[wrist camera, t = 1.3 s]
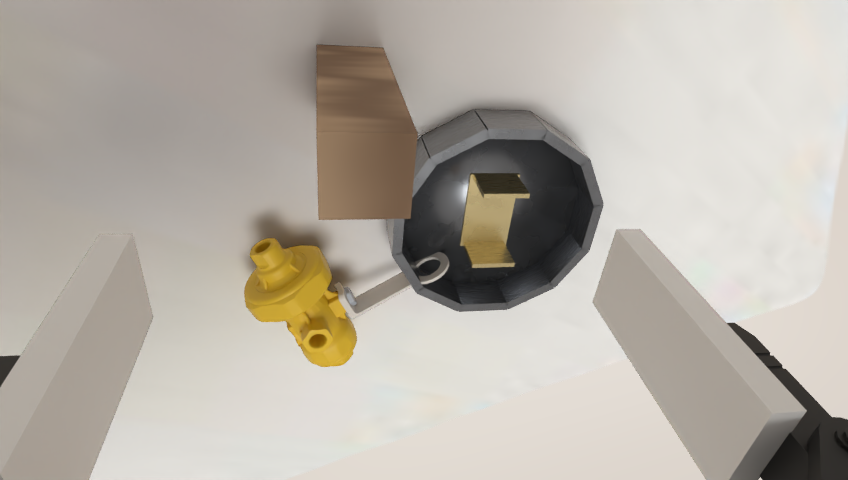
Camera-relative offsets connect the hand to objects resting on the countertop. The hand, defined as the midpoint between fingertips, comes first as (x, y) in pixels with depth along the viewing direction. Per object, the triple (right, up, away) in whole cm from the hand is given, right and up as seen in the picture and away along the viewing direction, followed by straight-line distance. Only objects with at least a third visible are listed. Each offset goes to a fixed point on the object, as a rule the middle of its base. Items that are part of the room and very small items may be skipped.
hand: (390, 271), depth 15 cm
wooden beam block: (-3, +10, +14) cm, 18 cm away
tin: (+5, +3, +20) cm, 21 cm away
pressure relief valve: (-4, 0, +21) cm, 21 cm away
